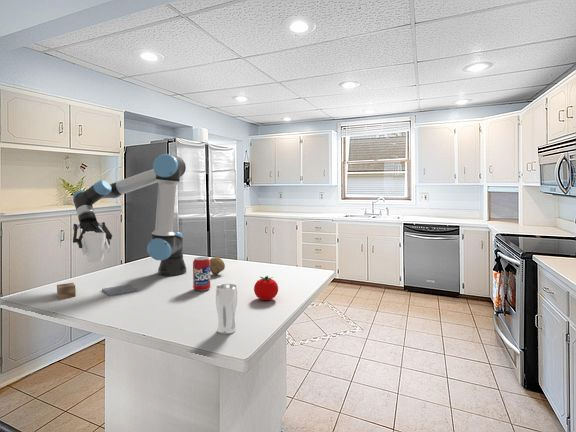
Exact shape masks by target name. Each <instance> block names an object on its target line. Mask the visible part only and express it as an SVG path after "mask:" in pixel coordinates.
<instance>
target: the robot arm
mask: <svg viewBox="0 0 576 432" xmlns="http://www.w3.org/2000/svg"><path fill="white" fill-rule="evenodd" d="M186 169H187V167H186V162H185V161H184V159H182V158H181V157H180V156H177V155H173V154H170V153H163V154H160V155H158V156H157V157H155V159H154V160H153V163H152V169H149V170H145V171H143V172H140V173H138V174H135V175H132V176H129V177H126V178H124V179H123V178H122V179H121V180H118V181H115V182H113V183H109V182H108V181H106V180H103V179H101V180H99V181H97V182H95V183H94V184H92V185H91V186H90V187H89V188H87V189H86V190H84V189H80V190H77V191H75V192H74V193H72V199H73V201H72V202H73V204H74V207H75V211H76V215H77V217H78V222H79V224H76V223H73V225H72V229H73V237H72V243H74V244H75V243H76V244H77V245H78V249H81V250H82V254H83V255H85V256H86V249H85V245H84V240H83V234H87V233H89V232H93V233H106V238H105V246H104V248H105V249H106V252H107V253H109V252H110V244H111V240H112V238H113V234H112V233H111V231H110V230H109V229H108V227H107V226H106V222H104V221H103V222H99V221H98V220H97V216H96V213H95V210H94V207H93V205H95V204H96V203H98V202H99V201H100V200H101V199H117V198H119V197H121V196H122V195H124V194H128V193H132V192H133V191H136V190H140V189H142V188H145V187H147V186H151V185H154V184H158V187H157V197H156V198H157V201H156V214H155V225H154V227H155V229H154V230H153V231H152V232H151V238H150V241H149V242H148V243H147V246H146V251H147V255H148V256H150V258H152V259H153V260H155V261H160V262H159V266H158V269H157V274H158V275H159V276H165V277H166V276H170V277H171V276H180V275H183V274H185V273H187V266H186V263H185V260H184V236H183V233H182V232H177V231H175V232H174V230H173V229H174V218H175V217H174V216H175V208H176V207H175V206H176V204H175V203H176V190H177V185H178V184H179V183H180V180H181V177H182V176H183V175H184V174H185V172H186ZM78 229H82V230H81V232H80V235H79V236H78ZM86 232H87V233H86ZM77 237H78V238H77Z"/></svg>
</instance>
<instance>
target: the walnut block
mask: <svg viewBox="0 0 576 432" xmlns="http://www.w3.org/2000/svg"><path fill="white" fill-rule="evenodd" d="M56 296H57V298H58V300H63V299H70V298H75V297H77V295H76V284H75V283H74V282H68V283H62V284H57V285H56Z"/></svg>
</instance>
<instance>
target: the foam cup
mask: <svg viewBox="0 0 576 432" xmlns="http://www.w3.org/2000/svg"><path fill="white" fill-rule="evenodd" d="M105 238H106V233H95V232H90V233H89V232H87V233H85V234H83V238H82V240H83V241H84V245H85V249H86V253H85V256H86V259H87V262H89V263H98V262H102V261H103V260H104V252H105Z"/></svg>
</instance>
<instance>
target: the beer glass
mask: <svg viewBox="0 0 576 432" xmlns="http://www.w3.org/2000/svg"><path fill="white" fill-rule="evenodd" d="M215 305H216V313H217V317H218V318H217V319H218V325H217V331H216V332H217V333H218V334H220V335H230V334H233V333H235V332H236V330H237V328H236V322H235V319H236V318H235V317H236V313H237V305H238V291H237V285H236V284H235V283H222V284H221V283H220V284H218V285H216V288H215Z"/></svg>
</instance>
